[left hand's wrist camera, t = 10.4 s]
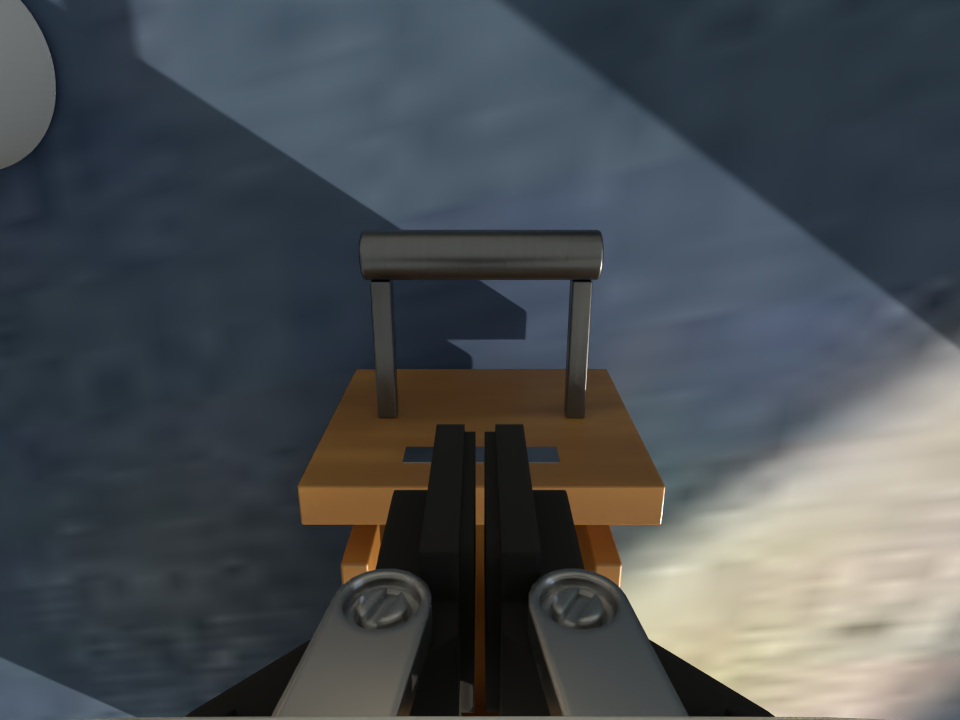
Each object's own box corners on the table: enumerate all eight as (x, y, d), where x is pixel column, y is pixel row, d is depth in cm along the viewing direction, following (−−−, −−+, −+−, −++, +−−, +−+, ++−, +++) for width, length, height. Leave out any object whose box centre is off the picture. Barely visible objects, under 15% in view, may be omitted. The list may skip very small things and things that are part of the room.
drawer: (344, 211, 23) (271, 260, 15) (618, 211, 23) (691, 260, 15) (379, 696, 31) (343, 900, 23) (583, 697, 31) (619, 901, 23)
